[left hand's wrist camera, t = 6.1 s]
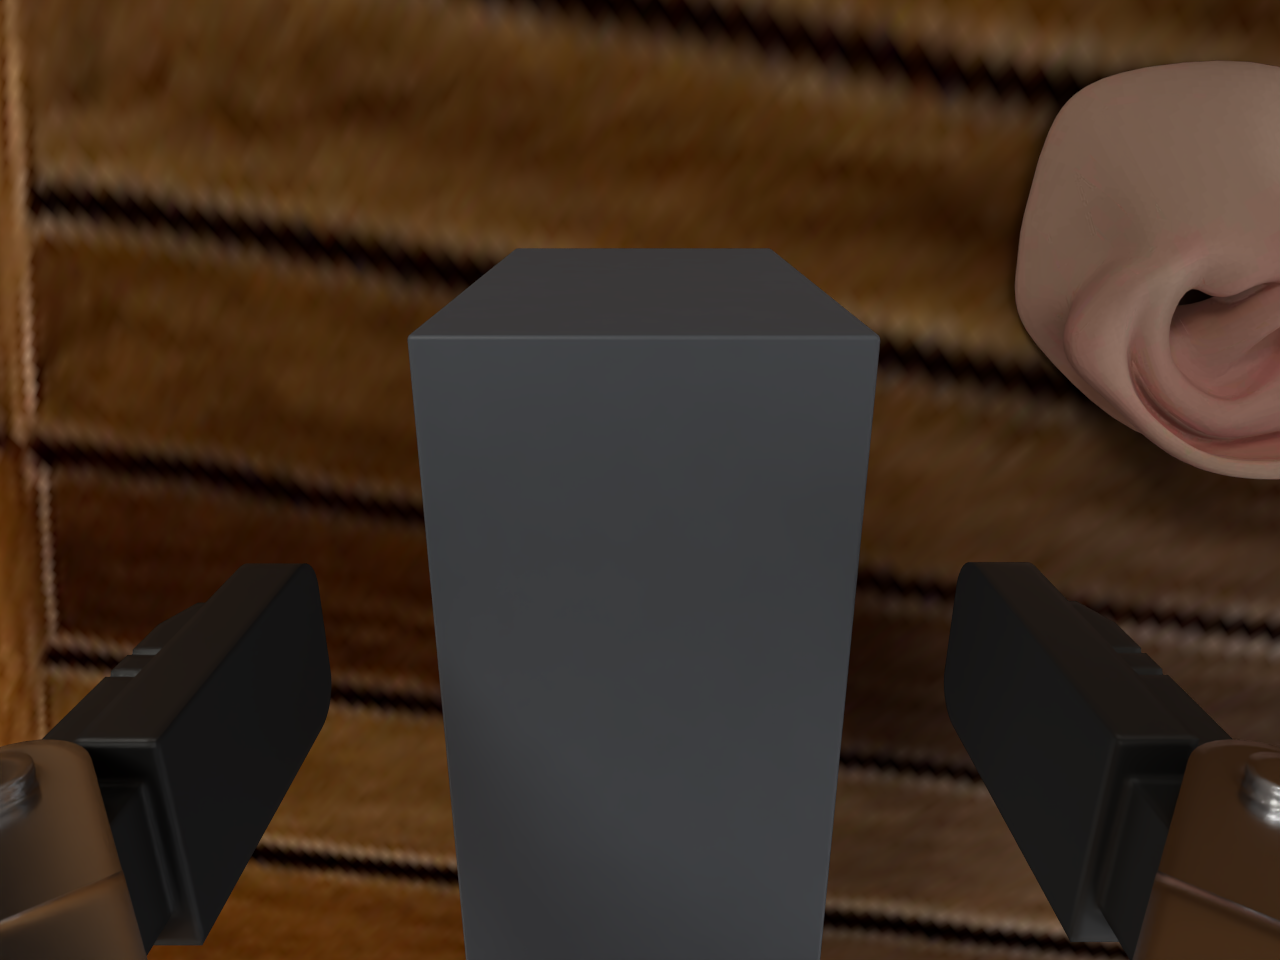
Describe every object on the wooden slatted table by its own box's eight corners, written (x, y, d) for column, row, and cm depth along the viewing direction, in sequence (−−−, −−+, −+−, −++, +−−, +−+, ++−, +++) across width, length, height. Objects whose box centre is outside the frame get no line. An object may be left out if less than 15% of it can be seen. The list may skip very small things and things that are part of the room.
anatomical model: (1032, 121, 23) (1500, -53, 21) (976, 124, 27) (1373, -23, 25) (1114, 556, 27) (1507, 436, 26) (1057, 507, 31) (1398, 399, 30)
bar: (515, 248, 19) (406, 334, 10) (771, 248, 19) (881, 336, 10) (554, 1057, 28) (514, 1477, 19) (730, 1057, 28) (770, 1477, 19)
